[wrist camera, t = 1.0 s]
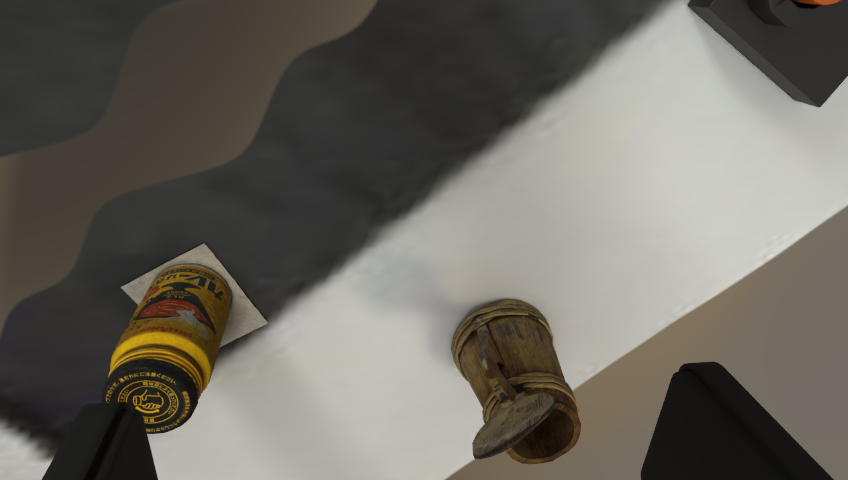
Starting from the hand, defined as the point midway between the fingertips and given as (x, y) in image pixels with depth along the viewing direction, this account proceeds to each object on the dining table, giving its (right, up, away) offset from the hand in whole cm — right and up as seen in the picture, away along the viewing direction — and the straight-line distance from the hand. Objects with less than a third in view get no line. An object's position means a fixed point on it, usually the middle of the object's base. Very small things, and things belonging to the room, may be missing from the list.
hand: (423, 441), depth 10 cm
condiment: (-18, -1, +33) cm, 38 cm away
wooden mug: (+6, -4, +39) cm, 39 cm away
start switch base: (+27, +21, +29) cm, 45 cm away
